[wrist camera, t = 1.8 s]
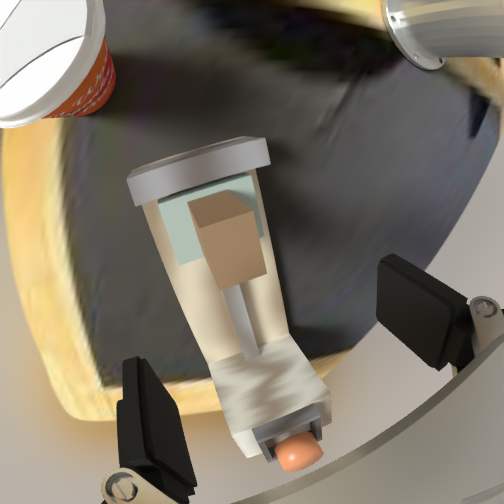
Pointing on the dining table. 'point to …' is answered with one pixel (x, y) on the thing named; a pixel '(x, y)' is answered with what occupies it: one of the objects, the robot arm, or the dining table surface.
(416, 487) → the robot arm
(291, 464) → the button
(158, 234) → the track
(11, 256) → the dining table surface
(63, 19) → the paper cup
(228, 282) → the carriage
